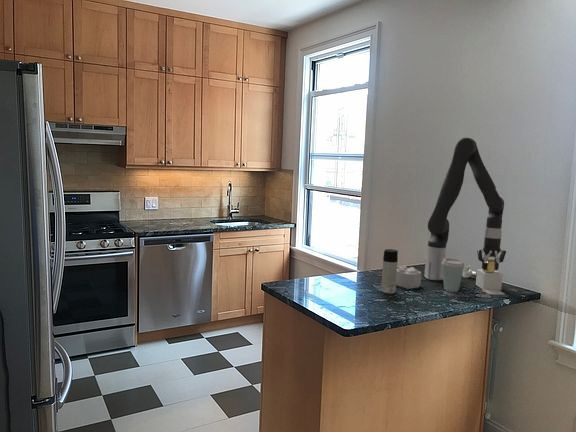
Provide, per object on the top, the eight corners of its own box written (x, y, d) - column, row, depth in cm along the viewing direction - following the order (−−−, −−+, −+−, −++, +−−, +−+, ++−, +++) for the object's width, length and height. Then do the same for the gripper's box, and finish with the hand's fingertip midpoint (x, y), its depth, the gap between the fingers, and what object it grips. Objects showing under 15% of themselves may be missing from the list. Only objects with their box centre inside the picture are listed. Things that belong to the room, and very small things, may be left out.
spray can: (396, 291, 227) (399, 249, 224) (393, 294, 221) (396, 252, 218) (383, 289, 230) (385, 248, 227) (379, 292, 224) (382, 250, 221)
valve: (458, 276, 260) (475, 282, 249) (459, 264, 259) (476, 269, 248) (467, 275, 263) (484, 281, 252) (468, 263, 262) (485, 268, 251)
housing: (483, 289, 235) (484, 273, 234) (475, 284, 244) (477, 269, 243) (501, 290, 235) (502, 274, 234) (493, 285, 244) (494, 269, 243)
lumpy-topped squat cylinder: (409, 289, 231) (410, 271, 230) (388, 282, 241) (390, 266, 240) (423, 286, 237) (424, 269, 236) (402, 280, 248) (403, 263, 246)
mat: (488, 294, 227) (488, 293, 227) (482, 290, 234) (482, 289, 233) (505, 295, 227) (505, 294, 227) (498, 290, 234) (498, 290, 234)
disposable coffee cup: (466, 290, 232) (468, 260, 230) (456, 294, 224) (459, 263, 222) (445, 285, 239) (447, 256, 237) (435, 289, 231) (438, 259, 229)
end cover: (486, 282, 237) (488, 260, 236) (482, 280, 241) (484, 258, 240) (495, 282, 237) (497, 261, 236) (491, 280, 241) (493, 259, 240)
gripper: (503, 235, 240) (500, 268, 242) (475, 234, 240) (472, 267, 242) (510, 238, 233) (507, 272, 235) (481, 237, 232) (478, 271, 235)
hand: (489, 269), depth 238 cm, fingers open, 5 cm apart
